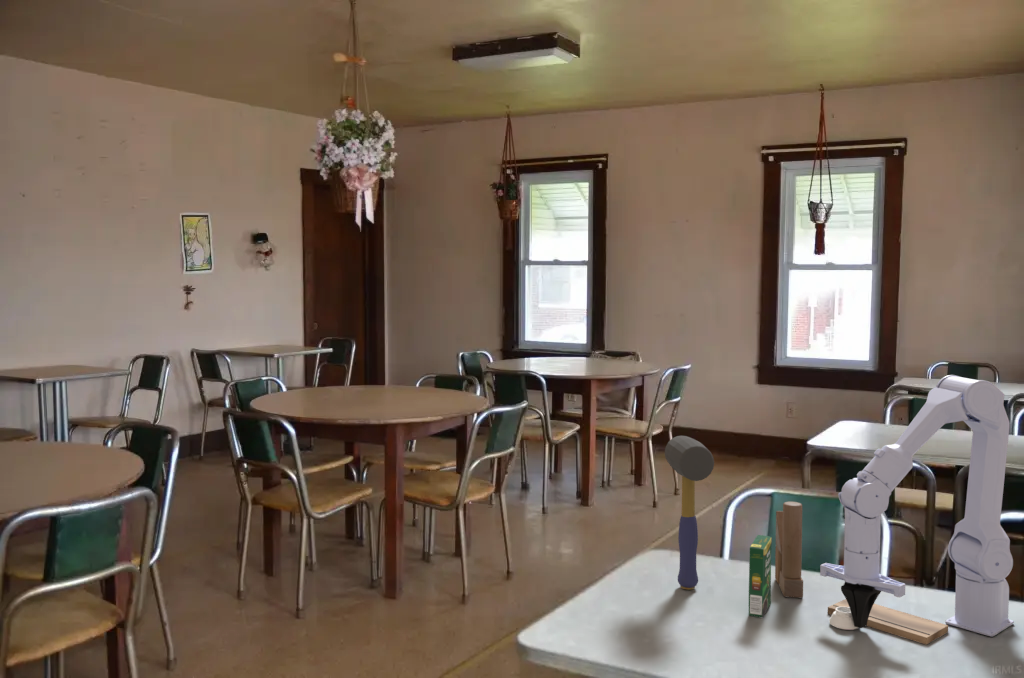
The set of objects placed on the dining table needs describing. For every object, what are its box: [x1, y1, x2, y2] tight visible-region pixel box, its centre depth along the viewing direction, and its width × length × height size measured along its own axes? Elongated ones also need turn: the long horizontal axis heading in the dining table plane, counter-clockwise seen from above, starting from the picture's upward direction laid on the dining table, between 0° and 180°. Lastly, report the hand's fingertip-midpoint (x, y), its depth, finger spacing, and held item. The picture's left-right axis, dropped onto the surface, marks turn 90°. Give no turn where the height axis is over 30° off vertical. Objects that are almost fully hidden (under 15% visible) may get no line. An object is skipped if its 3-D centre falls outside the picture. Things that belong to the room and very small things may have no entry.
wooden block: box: [774, 501, 804, 599], centre depth 171 cm, size 4×11×18 cm, turn 172°
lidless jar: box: [828, 607, 859, 631], centre depth 153 cm, size 5×3×5 cm
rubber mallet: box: [664, 435, 715, 591], centre depth 171 cm, size 12×8×30 cm, turn 4°
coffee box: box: [748, 534, 773, 619], centre depth 160 cm, size 8×3×13 cm, turn 153°
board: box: [827, 598, 949, 645], centre depth 154 cm, size 8×18×1 cm, turn 40°
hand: (860, 625), depth 151 cm, fingers closed
